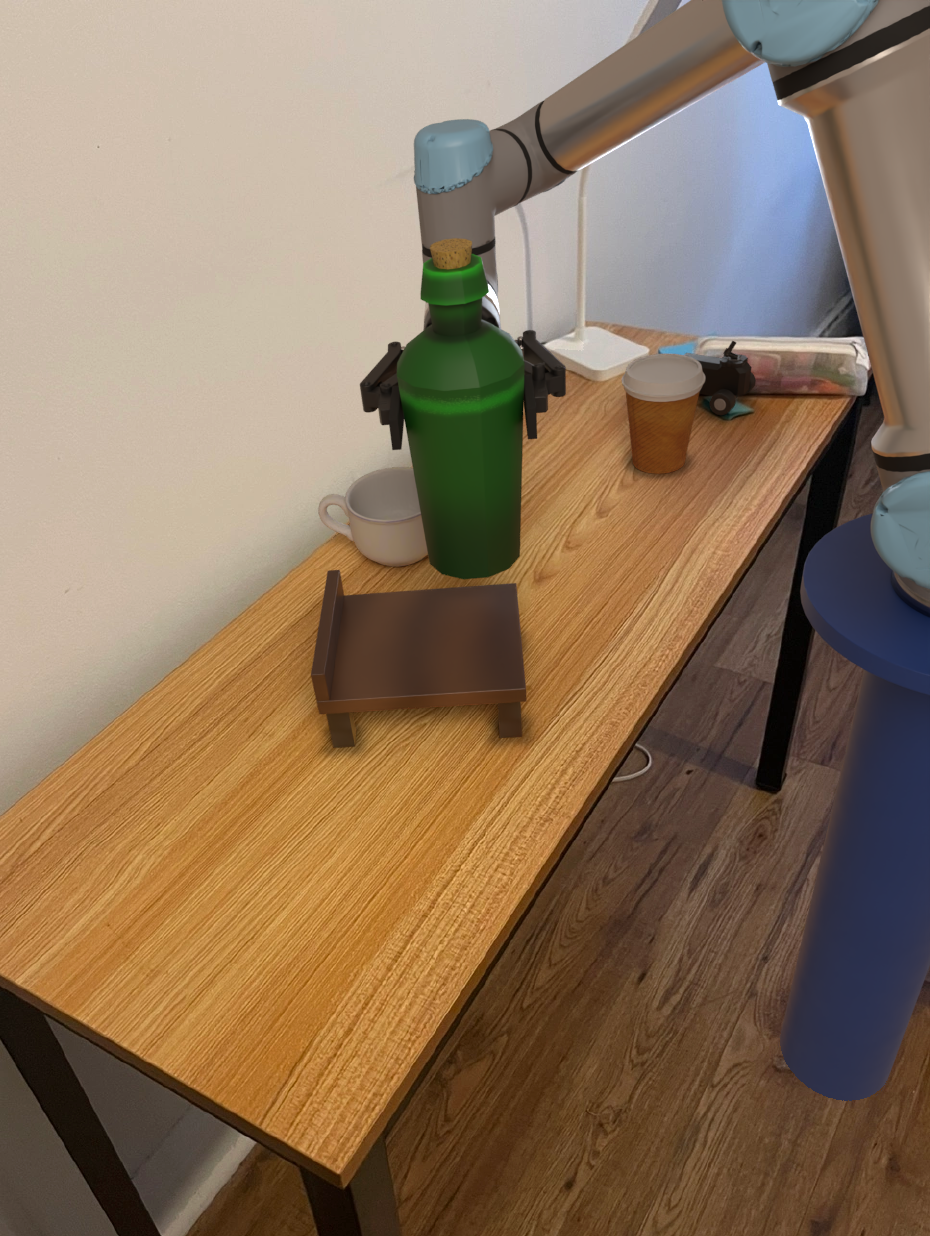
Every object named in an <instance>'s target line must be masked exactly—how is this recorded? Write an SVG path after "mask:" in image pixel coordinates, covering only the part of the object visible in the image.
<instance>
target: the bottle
mask: <svg viewBox="0 0 930 1236" xmlns="http://www.w3.org/2000/svg"><path fill="white" fill-rule="evenodd" d="M430 250H431V254H432V258H431V259H429V260H428V261H426V262H425V263H423V262H422V271H421V282H420V293H419V295H420V301H423V302H425V303H426V302H427V303H428V305H429V310H430V316H431V321H432V324H431V325H430V326H429V327H427V328H426V329H425V330H422V331H421V332H420V333H418V334H417V335H416V336H415V337H414V338H413V339H411V340H410V341H408V342H407V343H406V344H405V346H404V347H405V349H404V351H403V352H402V354H401V356H400V358H399V360H398V362H397V380H398V385H399V391H400V397H401V403H402V408H403V414H404V426H405V430H406V437H407V442H408V447H409V454H410V458H411V459H410V460H411V464H412V468H413V471H414V477H415V483H416V488H417V494H418V500H419V506H420V511H421V517H422V523H423V528H424V534H425V540H426V546H427V551H428V555H427V557H428V562H429V565H430V566H432V567H433V568H434V569H435V570H436V571H437V572H439V573H440V575H442V576H446V577H451V578H455V579H458V580H459V579H460V580H474V579H486V578H487V579H488V578H491V577H493V576H496V575H498V574H500V573H503V572H505V571H508V570H509V569H510V568H511V567H512V566H513V565H514V564H515V563H516V562H517V560H518V559H519V558H520V556H521V531H522V529H521V528H522V527H521V525H522V523H521V522H522V487H523V481H522V479H523V449H524V448H523V447H524V446H523V444H524V443H523V442H524V366H525V363H524V358H523V354H522V350H521V348H520V347H519V346H518V344H517V343H516V342H515V340H516V339H514V338H513V336H512V334H510V333H509V332H508V331H505V330H503V329H502V328H501V329H500V328H498V327H496V326H494V325H493V324H491V323H489V322H487V321H484V320H482V297H484V296H485V295H486V294H488V293H489V287H488V283H487V279H486V275H485V271H484V267H483V263H482V259H481V257H479V256H477V255H474V254H471V252H472V241H470V240H467V239H459V238H454V239H445V240H442V241H438V242H435V243H434V244H432V245H431V246H430Z"/></svg>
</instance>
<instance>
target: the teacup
mask: <svg viewBox="0 0 930 1236" xmlns="http://www.w3.org/2000/svg"><path fill="white" fill-rule="evenodd" d="M329 506H338V507H339V508H340V509H341V510H342V511H343V513H344V514H345V516H346V517H347V518H348V522H349V524H346V523H342V522H341V521H338V520H337V519H335V518H333V516H331V515H330V513H329V512H328V507H329ZM317 509H318V510H317V512H318V516H319V519H320V521H321V522H322V524H323V525H324V526H325V527H326V528H328V529H330V530H331V531H334V532H335V533H338V534H340V535H342V536H345V537H346V538H347V539H348V540H349V541H351V542H354V545H355V547H356V548H357V550H358V551H359V552H360V553H361V554H362V556H363V557H365V558H366V559H368V560H370V561H373V562H375V563H378V564H379V565H383V566H386V567H395V568H396V567H405V566H409V565H413V564H416V563H418V562H420V561H421V560H423V559H424V558H425V557H426V556H427V557H428V551H427V546H426V540H425V534H424V528H423V523H422V517H421V511H420V506H419V500H418V494H417V488H416V483H415V477H414V471H413V467H409V466H393V467H392V466H391V467H385V468H381V469H377V470H374V471H371V472H368V473H366V474H363V475H362V476H360V477H358V479H356V480H355V481H354V482H352V483H351V484H350V486H349V487H348V488H347V490H346V491H345V496H344V495H343V494H342V495H341V494H339V493H329V494H327V495H325V496H324V497H322V499H321V500H320V501H319V503H318V508H317Z"/></svg>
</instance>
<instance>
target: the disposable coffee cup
mask: <svg viewBox="0 0 930 1236" xmlns="http://www.w3.org/2000/svg"><path fill="white" fill-rule="evenodd" d="M704 383H705V375H704V373H703V371H702V366H701V364H700V363H699V361H697V360H695V359H694V358H691V357H688V356H685V355H684V354H679V353H654V354H647V355H644V356H641V357H638V358H636V359H633V360H632V361H630V362H629V363H628V364H627V366H626V367H625V372H624V374H623V375H622V376H621V385H622V387H623V390H624V391H625V396H626V397H625V399H626V407H627V418H628V420H627V421H628V428H629V437H630V447H631V457H632V459H631V460H632V465H633V466H634V467H635V468H636V469H637V470H639V471H641V472H643V473H647V474H653V475H654V474H655V475H657V474H659V475H660V474H662V475H663V474H669V473H673V472H675V471H678V470H680V469H681V468H683V467H684V466H685V463H686V458H687V453H688V449H689V443H690V439H691V435H692V430H693V425H694V420H695V415H696V410H697V406H698V401H699V397H700V394H699V392H700V390H701V388H702V386H703V384H704Z"/></svg>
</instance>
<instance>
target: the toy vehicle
mask: <svg viewBox="0 0 930 1236" xmlns="http://www.w3.org/2000/svg"><path fill="white" fill-rule="evenodd" d="M736 345H737V342H736V341H735V340H731V342H730V344H729V345H728V347H726V348H725V349H724V351H723V356H722V357H718V356H717V357H716V356H711V355H703V354H698V353H691V352H685V353H684V354H683V355H685V356H688V357H691V358H694V359H695V360H697V361H699V363H700V364H701V366H702V371H703V373H704V375H705V383H704V384H703V386H702V388H701V390H700V392H699V395H704V396H710V399H709V408H710V410H711V411H712V413H713V414H715V415H717V416H725V415H727V414H728V413H730V412H731V411H732V410H733V408H734V407H735V405H736V402H737V401H736V399H737V398H738V397H740V396H745V395H747V394H749V393H750V392H751V391H752V390H753V389H754V387H755V385H756V383H757V379H756V376H755V374H754V373H753V372H752V366H751V365H750V363H749V362H748V361H749V357H747V356H746V355H745V354H741V353H740V354H738V353H734V352H733V350H734V348H735V346H736Z"/></svg>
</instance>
